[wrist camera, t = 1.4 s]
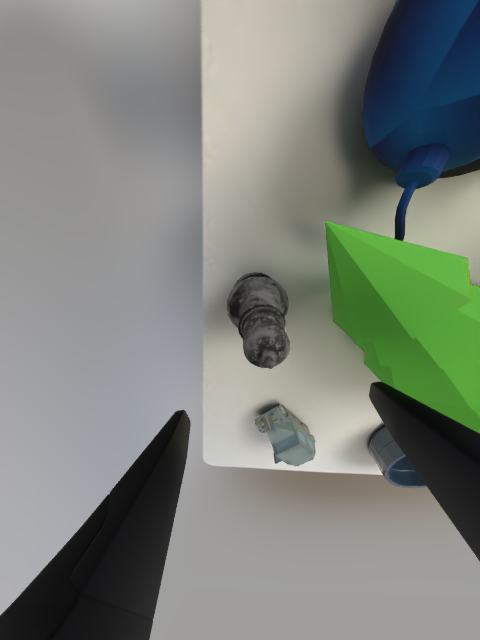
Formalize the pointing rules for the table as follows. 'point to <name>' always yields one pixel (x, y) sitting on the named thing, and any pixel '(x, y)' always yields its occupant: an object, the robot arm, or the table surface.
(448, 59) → the blue rounded body
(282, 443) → the toy car
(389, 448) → the blue fountain
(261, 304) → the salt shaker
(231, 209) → the table surface
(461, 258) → the decorative tree
